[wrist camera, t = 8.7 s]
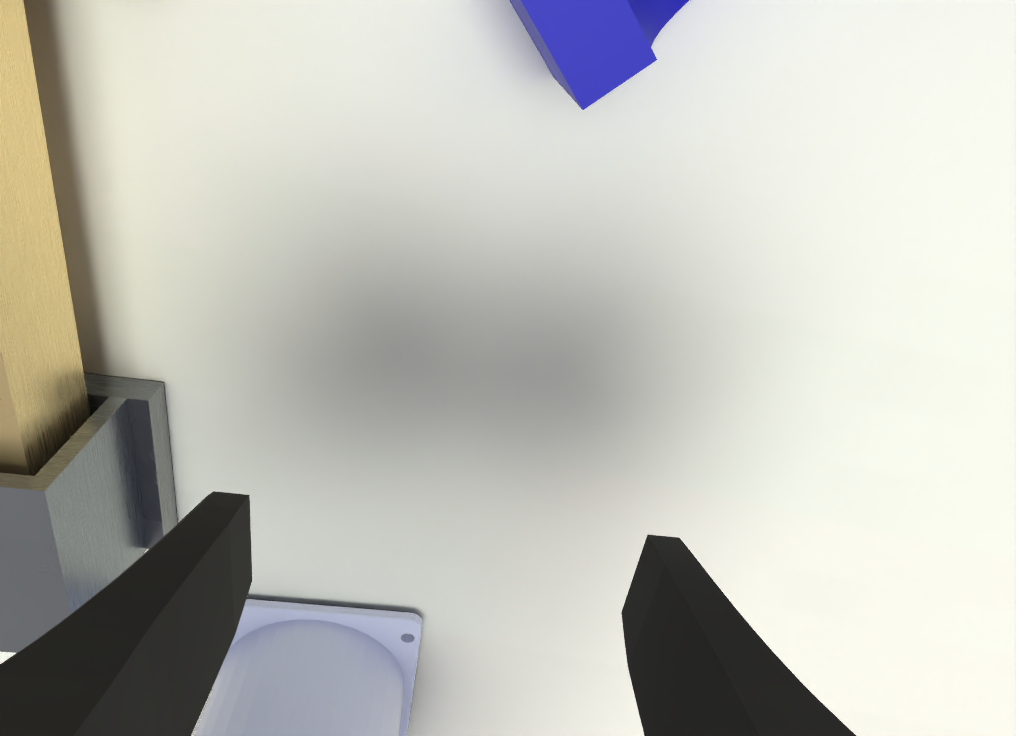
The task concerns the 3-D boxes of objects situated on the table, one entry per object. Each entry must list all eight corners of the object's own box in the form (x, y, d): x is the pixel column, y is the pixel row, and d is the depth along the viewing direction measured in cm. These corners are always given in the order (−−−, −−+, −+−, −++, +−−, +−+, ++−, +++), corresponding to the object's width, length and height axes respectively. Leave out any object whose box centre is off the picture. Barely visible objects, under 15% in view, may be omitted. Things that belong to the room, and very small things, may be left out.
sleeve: (178, 527, 24) (102, 658, 19) (-3, 510, 23) (-127, 641, 18) (163, 382, 21) (70, 493, 16) (-42, 358, 20) (-202, 467, 16)
